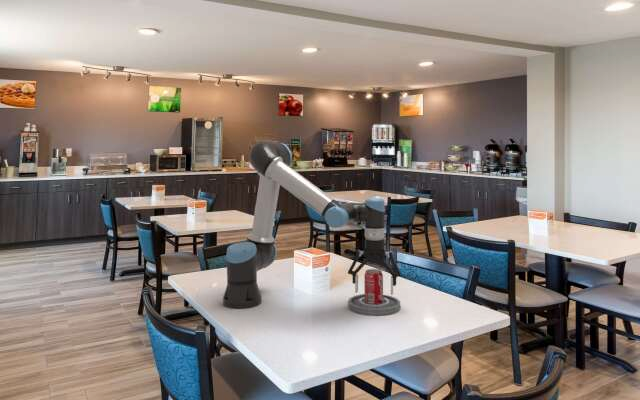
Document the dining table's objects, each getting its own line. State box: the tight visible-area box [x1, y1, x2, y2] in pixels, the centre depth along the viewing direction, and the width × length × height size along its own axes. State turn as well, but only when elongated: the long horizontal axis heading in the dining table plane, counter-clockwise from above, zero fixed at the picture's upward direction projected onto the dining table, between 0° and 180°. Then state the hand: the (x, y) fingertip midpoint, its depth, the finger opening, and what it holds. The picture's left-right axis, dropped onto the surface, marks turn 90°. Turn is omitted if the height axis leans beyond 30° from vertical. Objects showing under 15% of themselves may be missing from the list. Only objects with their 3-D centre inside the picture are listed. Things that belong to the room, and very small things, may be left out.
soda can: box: [364, 268, 384, 305], centre depth 182 cm, size 7×7×13 cm
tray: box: [347, 293, 401, 317], centre depth 182 cm, size 20×20×2 cm
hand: (374, 292), depth 182 cm, fingers open, 13 cm apart
